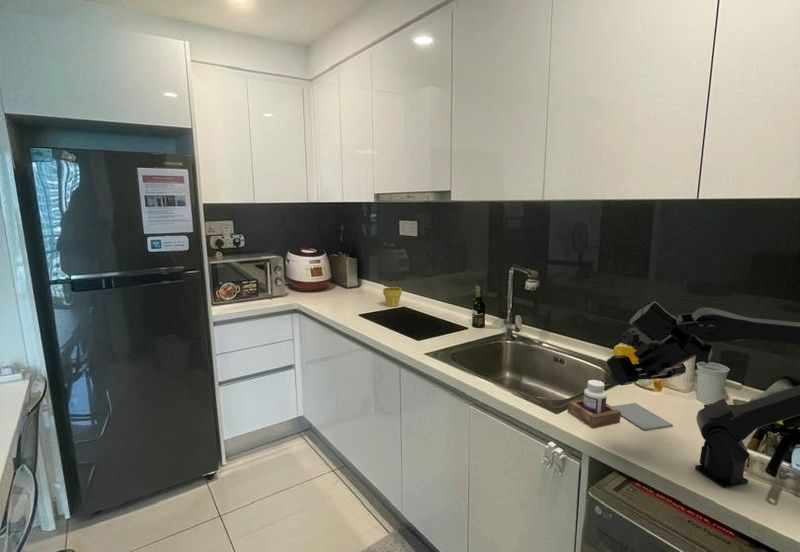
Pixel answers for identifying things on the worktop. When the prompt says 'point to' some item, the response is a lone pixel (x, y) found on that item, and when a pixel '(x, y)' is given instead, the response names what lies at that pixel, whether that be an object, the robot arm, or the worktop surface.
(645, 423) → the grey mat
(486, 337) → the worktop surface
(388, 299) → the plant pot
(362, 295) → the worktop surface
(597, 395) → the pill bottle
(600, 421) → the walnut socket
